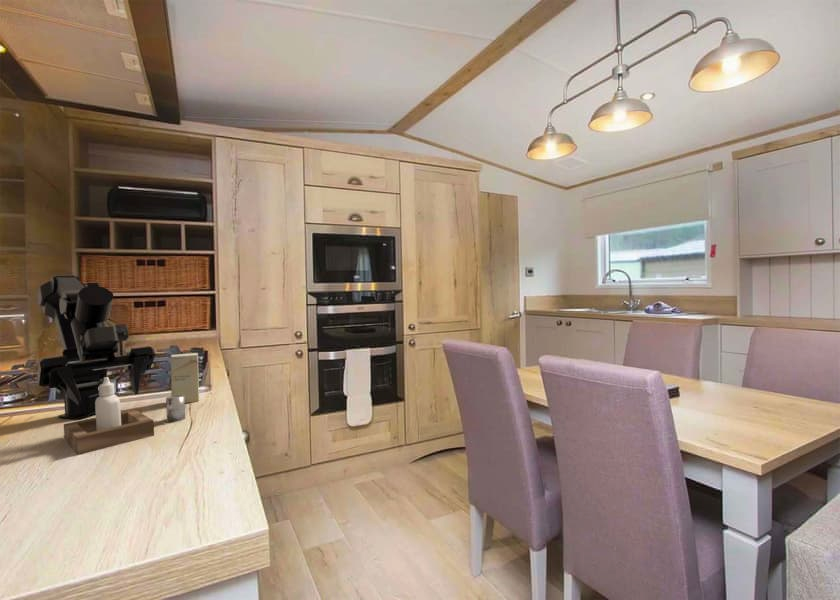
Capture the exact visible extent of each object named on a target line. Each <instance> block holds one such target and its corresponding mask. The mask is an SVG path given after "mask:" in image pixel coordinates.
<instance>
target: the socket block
mask: <svg viewBox="0 0 840 600" xmlns="http://www.w3.org/2000/svg"><path fill="white" fill-rule="evenodd" d="M63 435H64V436H63V438H64V441H65V442H66V443H67V444H68V445H69V447H71V448H72V450H74V452H75V453H76V454H77V455H82V454H86V453H90V452H94V451H97V450H102V449H106V448H109V447H112V446H117V445H122V444H125V443H129V442H132V441H136V440H141V439H144V438H148V437H152V436H155V423H154V420H153V419H152V418H151V417H148V416H147V415H145V414H143V413H141V412H140V411H139V410H137V409H135V408H134V409H130V410H125V411H121V426H116V427H112V428H108V429H103V430H99V431H97V429H96V416H95V417H92V418H88V419H87V418H86V419H80V420H78V421H73V422H67V423H63Z"/></svg>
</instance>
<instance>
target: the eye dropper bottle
mask: <svg viewBox="0 0 840 600" xmlns="http://www.w3.org/2000/svg"><path fill="white" fill-rule="evenodd" d="M98 391H99V395H100V397H98V398H97V399H96V401H95V410H96V414H95V417H96V429H97V431H99V430H103V429H108V428H112V427H116V426H121V412H122V411H121V401H120V400H121V399H120V398H119V396H117V395H116V394H115V393H116V391H115V383H114V382H111V380H110V378H109V377H108V376H107V377H105V378H104V381H103V383H102V384H101V385H99V387H98Z"/></svg>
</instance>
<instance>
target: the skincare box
mask: <svg viewBox="0 0 840 600" xmlns="http://www.w3.org/2000/svg"><path fill="white" fill-rule="evenodd" d="M170 375H171V376H170V387H171V388H170V389H171V394H170V395H171V396H175V395H184V397H185V403H187V404H188V403H195V402H199V399H200V391H199V390H200V386H199V352H192V353H180V354H179V353H178V354H171V355H170Z"/></svg>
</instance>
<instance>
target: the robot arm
mask: <svg viewBox="0 0 840 600" xmlns="http://www.w3.org/2000/svg"><path fill="white" fill-rule="evenodd" d="M113 300H114V293H113V292H112V291H110V289H108V288H106V287H103V286H100V285H99V282H86V284H85V286H84V285H83V284H82V283H81V282H80V279H79V276H78V275H74V274H56V275H52V276H51V278H50V280H49V281H47V282H45V283H43V284H42V285H40V286H39V289H38V292H37V303H38V307H41V308H42V311H43V313H44V315H45V316H46V317H49V318H50V319H53V320H54V323H55V326H56V330H57V335H58V336H59V341H60V345H61V347H62V355H61V356H60V355H59V356H52V357H42V358H41V359H40V360H39V361H38V365H37V375H36V377H37V383H38V386H40V387H48V388H49V389H55V391H56V392H57V393H58V394H63V400H64V413H63V414H59V415H57V418H58V419H59V418H60V419H73V420H83V419H84V418H87V417H91V416H94V415H96V410H95V401H96V399H97V398H98V397H100V395H99V385H101V384H102V383H103V381H104V378H105V377H108V370H109V369H112V368H121V367H127V369H128V371H129V373H128V376H129V381H130V384H131V388H132V391H133V393H134V395H136V396H137V395H138V394H139V389H140V388H139V387H140V381H141V375H144V374H145V373H146V372H147V371H149V370H150V369H152V366H153V363H154V360H155V357H156V352H155V349H154V348H153V347H152V346H149V345H147V346H146V345H145V346H137V347H131V348H130V352H129V354H128V355H121V356H116V353H118V351H119V347H118V344H119V343H120V342H125V341H127V340H128V339H129V337H130V335H129V329H128V326H127V324H126V323H123V324H121V323H119V324H115V325H114V326H107V324H106V322H105V321H108V320H109V318H110V314H111V311H112V310H111V309H112V307H113V303H114V302H113Z"/></svg>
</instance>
